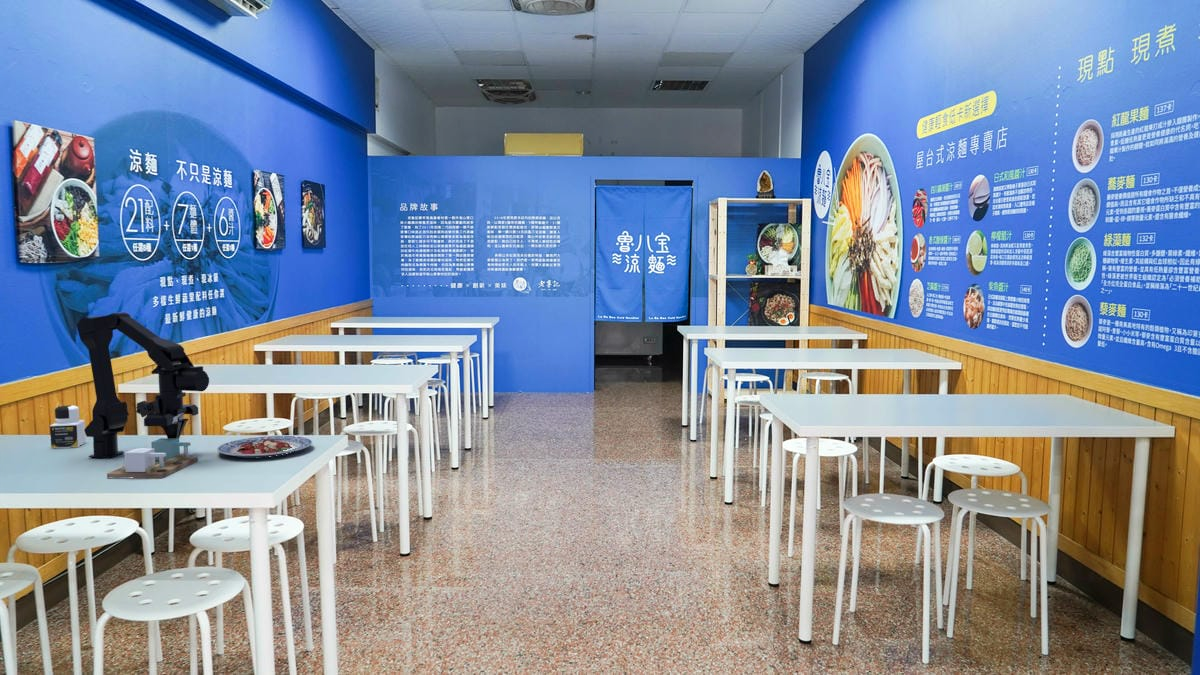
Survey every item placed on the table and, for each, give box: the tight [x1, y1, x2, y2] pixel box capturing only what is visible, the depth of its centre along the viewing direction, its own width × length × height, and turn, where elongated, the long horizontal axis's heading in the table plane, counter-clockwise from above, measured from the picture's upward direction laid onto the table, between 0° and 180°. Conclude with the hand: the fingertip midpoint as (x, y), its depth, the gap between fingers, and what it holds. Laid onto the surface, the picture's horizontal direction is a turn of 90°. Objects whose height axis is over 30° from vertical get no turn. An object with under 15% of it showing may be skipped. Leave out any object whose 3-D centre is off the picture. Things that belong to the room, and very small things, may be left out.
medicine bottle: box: [49, 404, 87, 449], centre depth 255 cm, size 7×7×12 cm
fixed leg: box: [124, 447, 166, 472], centre depth 220 cm, size 5×9×5 cm, turn 89°
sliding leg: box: [150, 437, 191, 460], centre depth 232 cm, size 5×9×5 cm, turn 89°
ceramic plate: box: [216, 435, 313, 459], centre depth 247 cm, size 26×26×3 cm
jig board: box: [106, 452, 199, 479], centre depth 226 cm, size 19×14×2 cm
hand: (173, 445), depth 236 cm, fingers closed
